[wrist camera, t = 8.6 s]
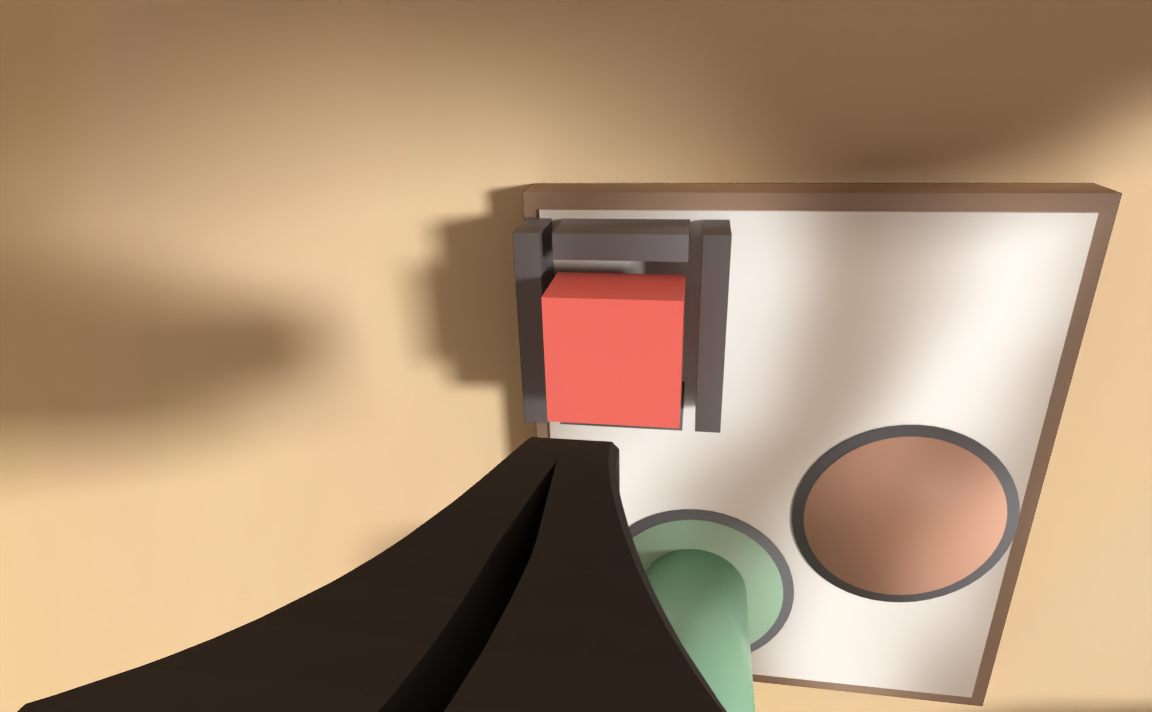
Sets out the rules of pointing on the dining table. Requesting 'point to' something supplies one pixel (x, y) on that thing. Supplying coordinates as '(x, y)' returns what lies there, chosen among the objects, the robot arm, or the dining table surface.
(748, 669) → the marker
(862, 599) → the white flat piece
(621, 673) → the robot arm
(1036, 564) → the dining table surface
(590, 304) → the button
